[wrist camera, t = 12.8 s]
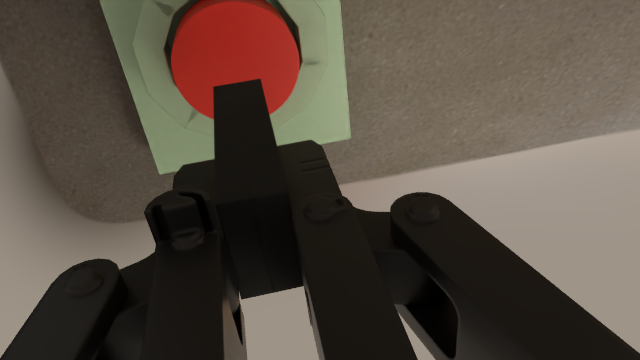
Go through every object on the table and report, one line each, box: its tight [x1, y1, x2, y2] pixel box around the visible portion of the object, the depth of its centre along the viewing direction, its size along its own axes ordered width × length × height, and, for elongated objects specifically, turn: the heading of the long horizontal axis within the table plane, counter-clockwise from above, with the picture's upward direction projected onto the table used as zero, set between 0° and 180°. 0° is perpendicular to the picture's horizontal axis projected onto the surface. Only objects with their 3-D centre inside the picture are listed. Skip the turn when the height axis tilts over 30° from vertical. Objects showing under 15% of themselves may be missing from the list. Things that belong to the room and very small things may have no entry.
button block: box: [99, 0, 351, 174], centre depth 22 cm, size 12×10×4 cm
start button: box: [171, 0, 300, 119], centre depth 20 cm, size 5×5×2 cm
